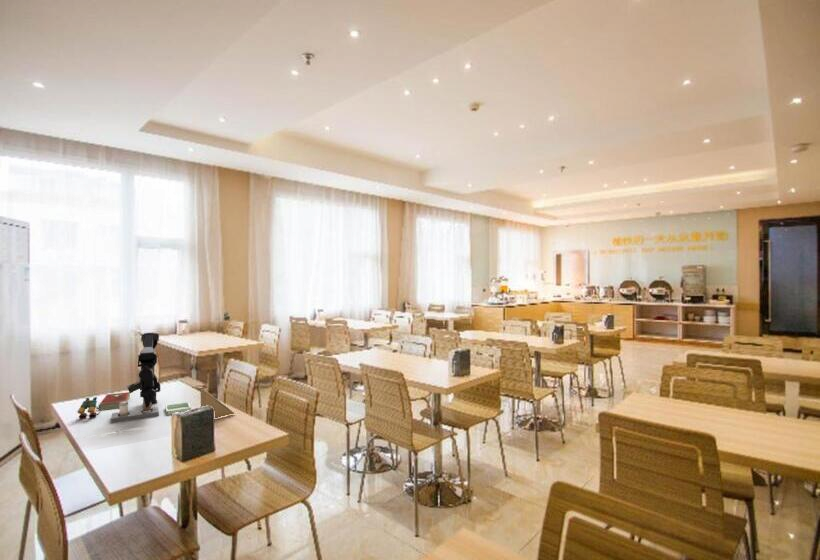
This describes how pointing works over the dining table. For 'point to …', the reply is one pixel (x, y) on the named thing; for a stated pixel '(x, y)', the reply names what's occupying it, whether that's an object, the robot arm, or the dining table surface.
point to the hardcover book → (113, 400)
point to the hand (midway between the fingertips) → (147, 406)
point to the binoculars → (91, 405)
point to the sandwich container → (214, 404)
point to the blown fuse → (146, 408)
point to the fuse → (123, 408)
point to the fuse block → (134, 415)
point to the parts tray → (177, 408)
